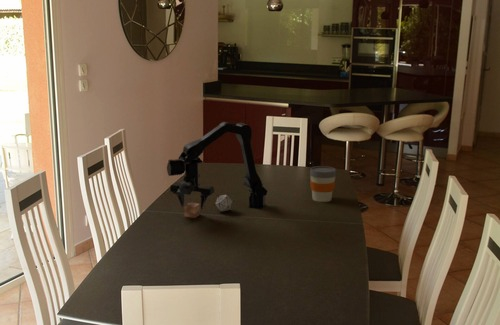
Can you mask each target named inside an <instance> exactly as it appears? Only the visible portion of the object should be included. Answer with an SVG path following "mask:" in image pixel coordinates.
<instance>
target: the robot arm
mask: <svg viewBox="0 0 500 325" xmlns="http://www.w3.org/2000/svg"><path fill="white" fill-rule="evenodd" d="M252 130H253V129H252V127H251V126H250V125H248V124H245V122H244V123H243V122H237V123H232V122H226V121H222V122H221V123H219V125H217V126H216V127H214V128H212V130H210V131H209V132H207V133H206V134H205V135H203V136H201V137H200V138H199V139H196V140H193V141H190V142H189V143H187V144H185V145H184V146H183V148H182V149H183V150H182V151H181V154H180V155H179V157H178V158H177V159H168V162H167V166H166V173H167V175H168V177H171V176H181V175H184V176H183V180H182V182H174V183H172V184H171V185H170V187H169V192H171V193H172V194H174V195H175V196H177V198H178V200H179V202H180V205H181V208H184V206H185V195H186V196H190V195H191V194H192V192H194V193H195V192H197V193H199V192H200V194H201V195H200V210H203V209H204V206H205V204H206V201H207V199H208V198H209V196H211V195H213V194H214V193H215V188H214V186H211V185H204V186H203V187H200V185H201V183H199V178H200V177H201V176H200V174H199V164H203V163H204V160H202V159H201V158H200V156H201V155H202V154H203V153H204V151H205V149H206V148H207V147H209V146H210V145H212V144H213V143H214V142H216V141H217V140H218V139H220V138H221V137H223V136H224V135H225V134H227V133H232V134H235V137H236V139H237V141H238V142H239V144H240V149H241V153H242V159H243V162H244V169H245V175H244V176H243V177H242V179H243V185H244V186H245V188H246V189H248V191H249V192H250V194H249V196H248V208H251V209H261V210H262V209H264V208H265V206H266V205H267V203H266V195H267V193H268V190H267V189H266V188H265V187H264V186H263V182H262V180H261V178H260V176H259V173H258V172H257V169H256V163H255V158H254V154H253V152H254V151H253V148H252V143H251V142H252V139H253V131H252Z"/></svg>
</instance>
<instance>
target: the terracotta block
mask: <svg viewBox="0 0 500 325" xmlns="http://www.w3.org/2000/svg"><path fill="white" fill-rule="evenodd" d="M183 208H184V217H185V218H191V219H196V218H197V217H198V216H200V215H201V213H200V212H201V211H200V210H201V203H197V202H188V203H187V204H184V206H183Z"/></svg>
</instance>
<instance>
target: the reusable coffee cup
mask: <svg viewBox="0 0 500 325" xmlns="http://www.w3.org/2000/svg"><path fill="white" fill-rule="evenodd" d="M309 176H310V181H309V183H310V190H311V195H312V196H311V197H312V200H313V201H315V202H318V203H328V202H331V201H332V198H333V191H335V185H336V177H337V169H336V168H334V167H332V166H325V165H317V166H312V167H311V168H310V171H309Z"/></svg>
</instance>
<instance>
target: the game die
mask: <svg viewBox="0 0 500 325" xmlns="http://www.w3.org/2000/svg"><path fill="white" fill-rule="evenodd" d="M228 193H229V192H227V193H226V194H222V195H219V194H216V196H217V198H216V200H215V203H214V204H212V205H213V206H215V207H216V208H217V209H218V210H219V211H220V212H219V213H220V214H222V212H225V211H226V212H227V211H229V212H231V207H232V205H233V202H235V200H233V199H232V198H231V197H230V196H229V195H228Z"/></svg>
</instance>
